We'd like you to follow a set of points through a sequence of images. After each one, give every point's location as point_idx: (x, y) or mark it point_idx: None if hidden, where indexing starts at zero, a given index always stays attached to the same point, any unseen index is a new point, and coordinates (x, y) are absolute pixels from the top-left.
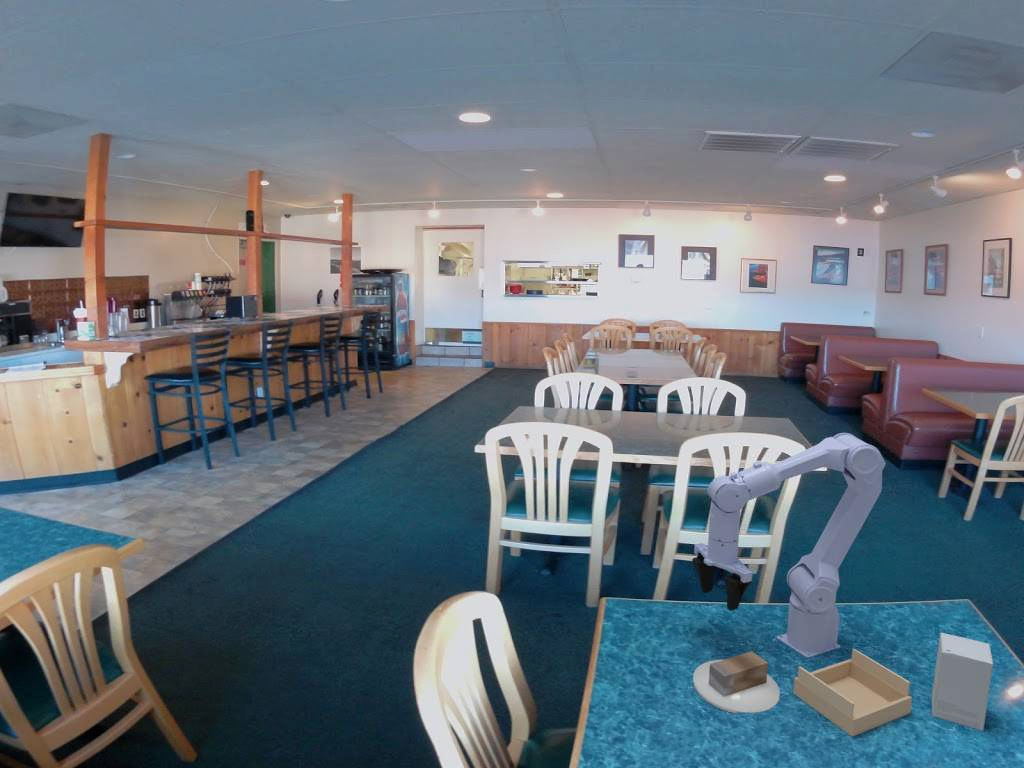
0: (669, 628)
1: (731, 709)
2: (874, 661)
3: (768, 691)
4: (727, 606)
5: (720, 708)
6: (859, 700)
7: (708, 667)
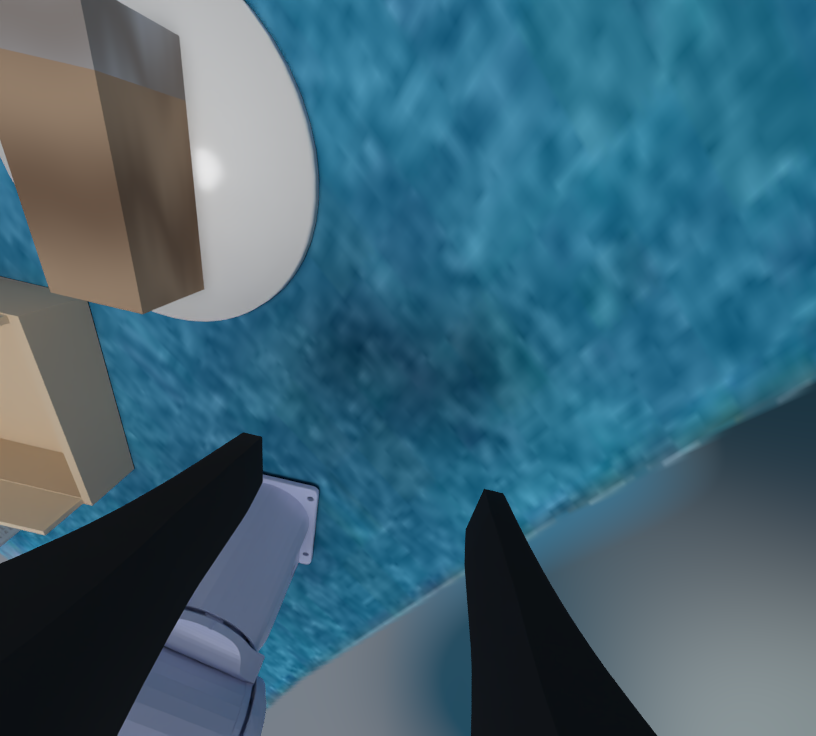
0: (591, 296)
1: None
2: None
3: None
4: (248, 445)
5: None
6: (26, 401)
7: (279, 161)
